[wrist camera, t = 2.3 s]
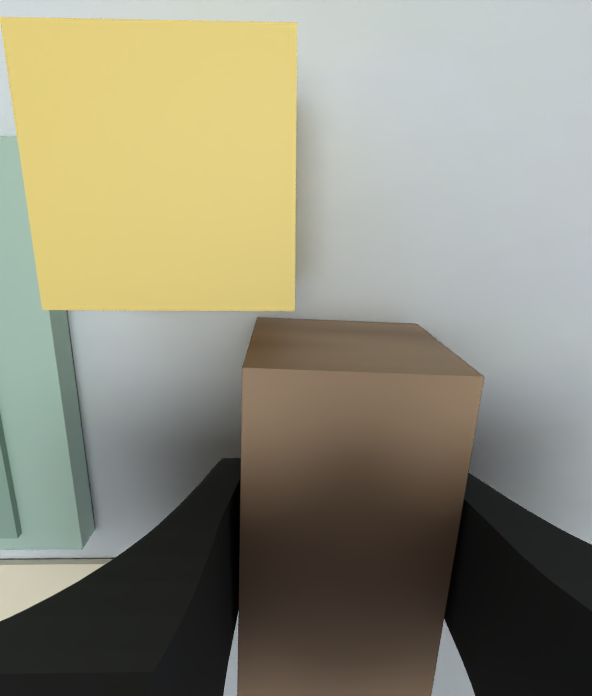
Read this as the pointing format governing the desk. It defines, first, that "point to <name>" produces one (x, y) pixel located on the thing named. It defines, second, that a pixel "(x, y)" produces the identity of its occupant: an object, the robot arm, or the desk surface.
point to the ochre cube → (157, 161)
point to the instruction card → (39, 580)
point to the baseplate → (35, 394)
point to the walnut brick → (349, 505)
